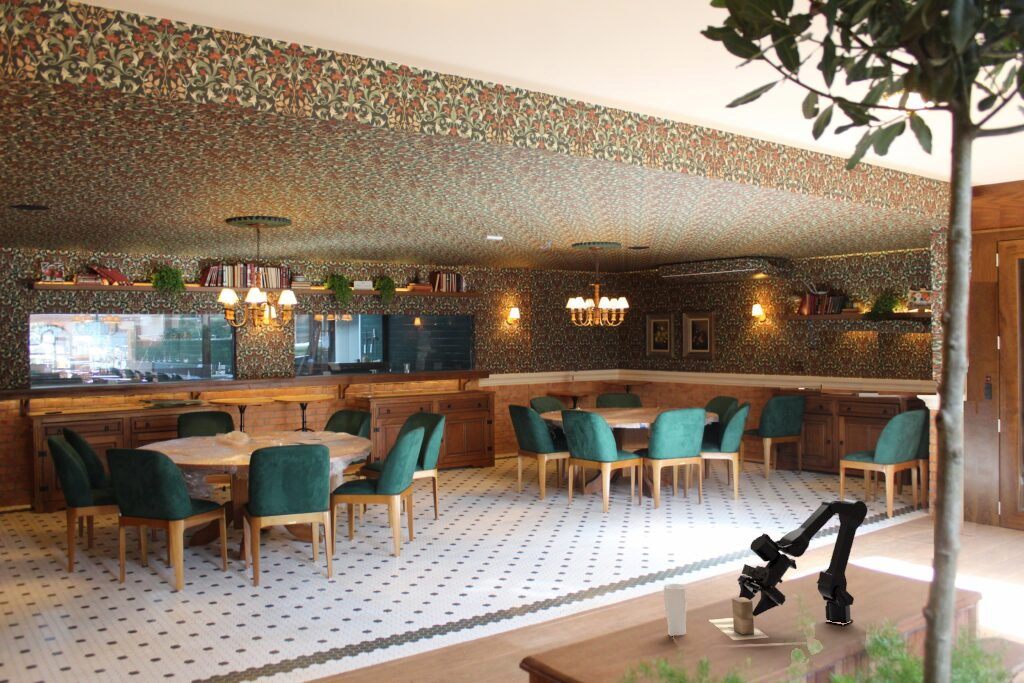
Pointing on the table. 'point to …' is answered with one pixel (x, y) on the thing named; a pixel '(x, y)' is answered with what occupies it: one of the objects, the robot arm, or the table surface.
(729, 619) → the board
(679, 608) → the drinking glass
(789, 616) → the table surface
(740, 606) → the block
